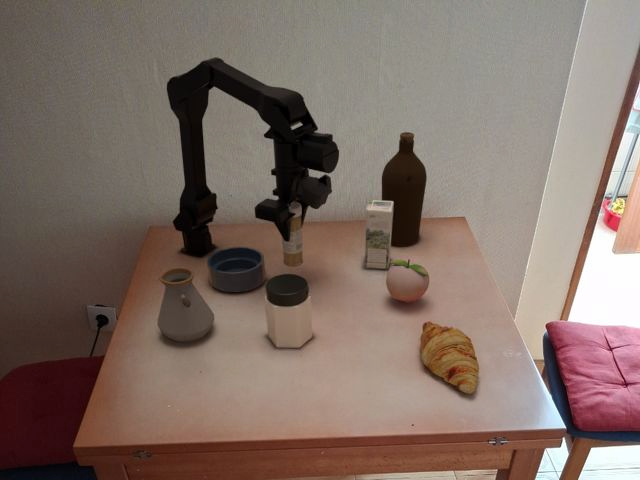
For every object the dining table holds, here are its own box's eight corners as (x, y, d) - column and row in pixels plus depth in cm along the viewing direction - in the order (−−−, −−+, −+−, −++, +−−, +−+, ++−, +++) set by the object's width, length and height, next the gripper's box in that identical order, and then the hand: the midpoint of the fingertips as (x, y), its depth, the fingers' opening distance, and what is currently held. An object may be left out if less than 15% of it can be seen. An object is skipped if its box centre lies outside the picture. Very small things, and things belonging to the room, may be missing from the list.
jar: (318, 342, 122) (316, 289, 114) (280, 353, 119) (276, 299, 111) (299, 321, 128) (296, 268, 120) (263, 331, 125) (258, 278, 117)
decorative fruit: (377, 307, 131) (379, 264, 124) (391, 289, 136) (394, 247, 130) (419, 316, 128) (424, 273, 121) (431, 298, 133) (436, 255, 127)
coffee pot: (156, 322, 128) (141, 256, 118) (210, 312, 131) (199, 247, 121) (171, 381, 113) (154, 312, 103) (231, 369, 116) (221, 299, 106)
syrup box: (390, 259, 147) (394, 199, 137) (388, 270, 143) (391, 210, 133) (367, 257, 148) (368, 198, 138) (364, 269, 144) (365, 209, 134)
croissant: (482, 409, 111) (509, 375, 106) (440, 399, 106) (466, 363, 101) (435, 344, 125) (456, 311, 121) (396, 332, 120) (417, 298, 116)
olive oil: (429, 239, 154) (440, 134, 137) (398, 252, 150) (405, 145, 133) (401, 225, 161) (408, 124, 144) (370, 237, 156) (374, 133, 139)
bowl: (199, 286, 139) (195, 265, 136) (232, 262, 147) (229, 242, 144) (244, 299, 134) (242, 278, 131) (276, 274, 143) (274, 254, 139)
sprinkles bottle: (295, 256, 140) (292, 198, 130) (307, 263, 137) (305, 205, 128) (279, 262, 138) (275, 204, 128) (291, 270, 135) (288, 211, 126)
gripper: (298, 186, 113) (302, 263, 124) (346, 155, 125) (345, 227, 136) (249, 176, 118) (256, 251, 128) (300, 147, 130) (302, 218, 140)
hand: (292, 236), depth 133 cm, fingers closed on sprinkles bottle, 4 cm apart
